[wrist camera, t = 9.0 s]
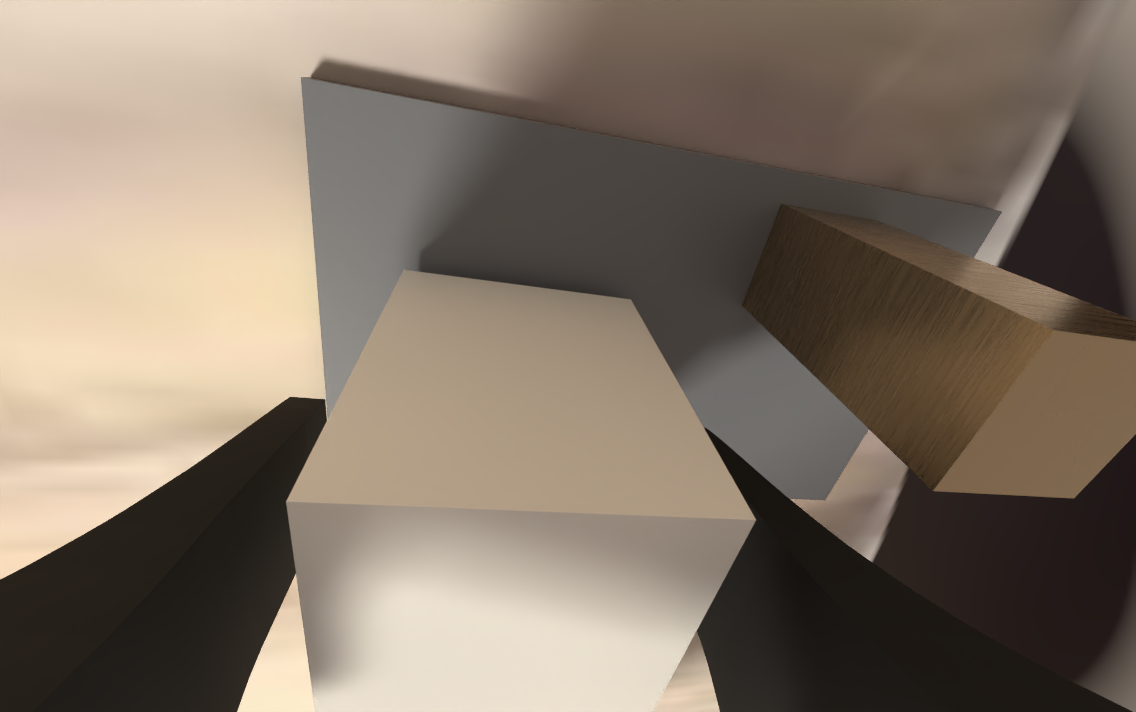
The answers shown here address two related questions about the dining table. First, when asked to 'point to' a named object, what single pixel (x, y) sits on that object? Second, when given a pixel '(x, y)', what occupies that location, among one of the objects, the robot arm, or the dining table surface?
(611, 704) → the beige block
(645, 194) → the base board
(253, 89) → the dining table surface
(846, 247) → the bronze post
